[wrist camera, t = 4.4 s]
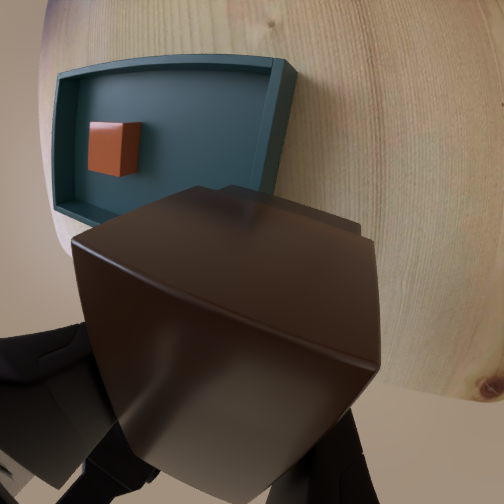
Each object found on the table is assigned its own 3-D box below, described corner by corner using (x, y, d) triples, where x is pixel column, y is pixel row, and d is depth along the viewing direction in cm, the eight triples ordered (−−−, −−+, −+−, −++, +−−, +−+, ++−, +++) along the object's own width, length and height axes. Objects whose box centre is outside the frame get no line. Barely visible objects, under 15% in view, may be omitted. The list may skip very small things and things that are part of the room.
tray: (76, 201, 25) (53, 209, 22) (83, 73, 19) (57, 73, 16) (257, 265, 20) (241, 287, 17) (298, 72, 14) (285, 59, 11)
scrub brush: (199, 366, 11) (133, 454, 7) (225, 173, 7) (68, 236, 3) (287, 402, 10) (242, 507, 6) (372, 218, 7) (383, 369, 2)
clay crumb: (105, 165, 21) (87, 170, 19) (108, 119, 19) (89, 121, 17) (137, 172, 20) (119, 177, 18) (142, 121, 18) (123, 122, 16)
